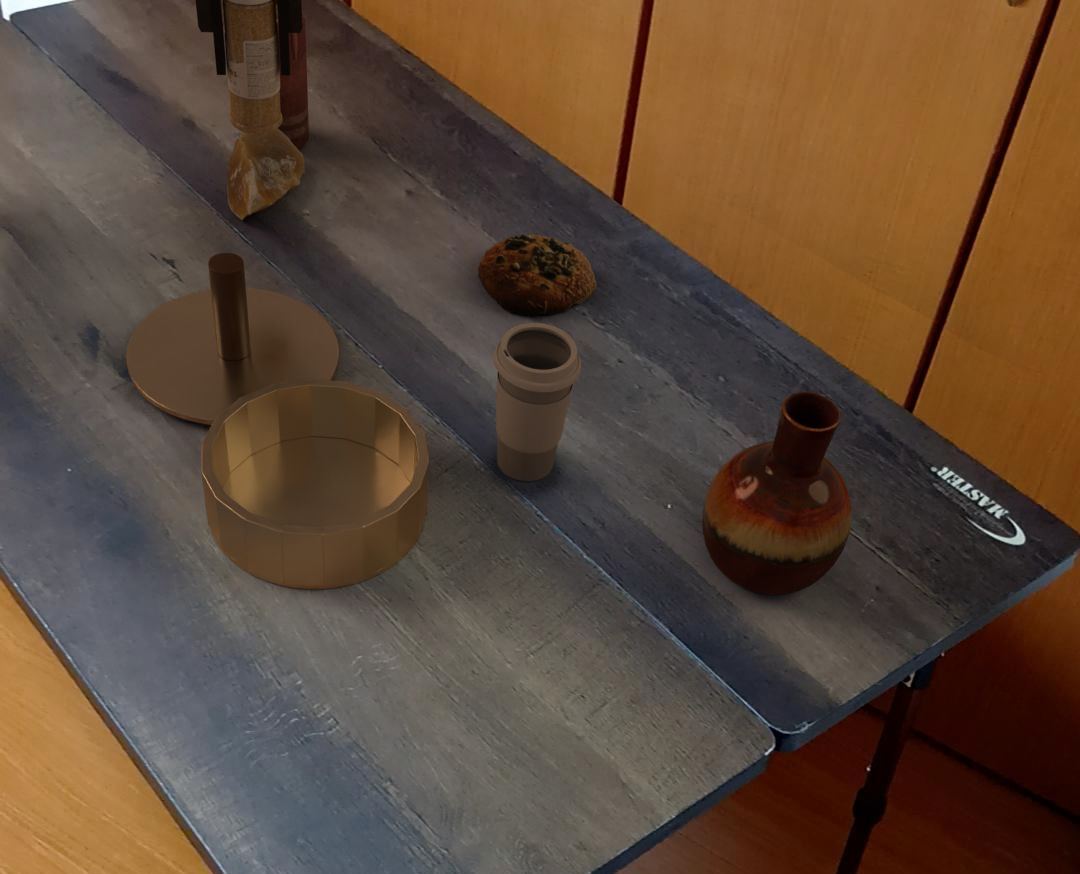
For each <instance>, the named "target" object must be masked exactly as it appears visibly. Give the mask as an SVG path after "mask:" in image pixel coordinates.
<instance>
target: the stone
mask: <svg viewBox="0 0 1080 874" xmlns="http://www.w3.org/2000/svg"><path fill="white" fill-rule="evenodd" d="M305 163H306V161H305V157H304V154H303V153H302V152H301V150H298V149H297V148H296V147H295V146H294V145H293V144H292V142H291V141H290V139H289V138H288V137H287V136H286V135H285V134H284V133H283V132H282V131H280V130H279V129H278V128H277V129H275V130H273V131H271V132H266V133H255V134H252V133H246V132H243V131H241V133H240V135H239V139H236V140H234V144H233V148H232V153H231V157H230V158H229V162H228V169H227V185H226V186H227V191H226V192H227V203H228V206H229V208H230V211H231V212H232V213H233V214H234V215H235V216H236V217H237V218H238V219H240V220H241V221H243V220H245V219H246V218H247V217H248V216H251V215H253V214H254V213H258V212H260V211H264V210H266V209H268V208H269V207H271V206H273V205H274V204H275V203H276V202H277V201H279V200H280V199H282V198H283V197H285V196H286V195H287V193H288V192H289V191H291V190H293V189H295V188H297V187H299V186H300V184H301V178H302V177H303V175H305V173H306V170H305Z"/></svg>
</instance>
